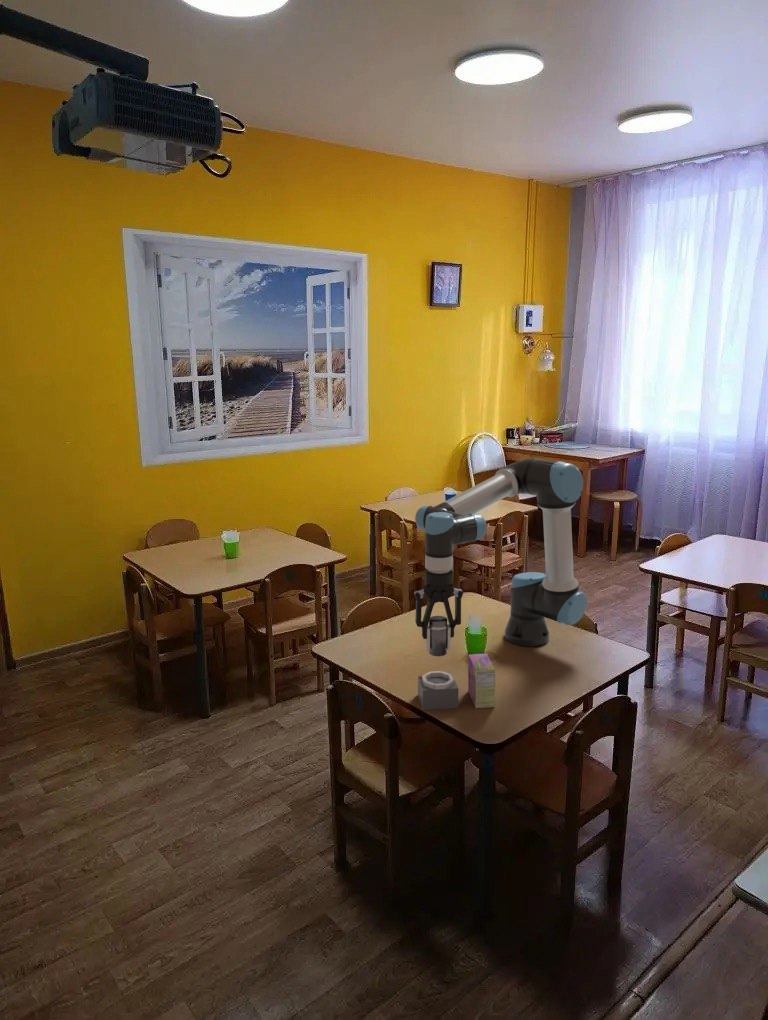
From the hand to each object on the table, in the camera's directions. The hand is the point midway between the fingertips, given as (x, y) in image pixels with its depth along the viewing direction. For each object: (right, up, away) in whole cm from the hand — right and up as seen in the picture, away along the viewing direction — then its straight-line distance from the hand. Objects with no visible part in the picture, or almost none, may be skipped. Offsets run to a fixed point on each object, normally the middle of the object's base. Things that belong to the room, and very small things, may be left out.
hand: (437, 648), depth 193 cm
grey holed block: (0, -16, +4) cm, 16 cm away
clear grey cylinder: (0, -1, 0) cm, 1 cm away
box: (+13, -16, +5) cm, 21 cm away
